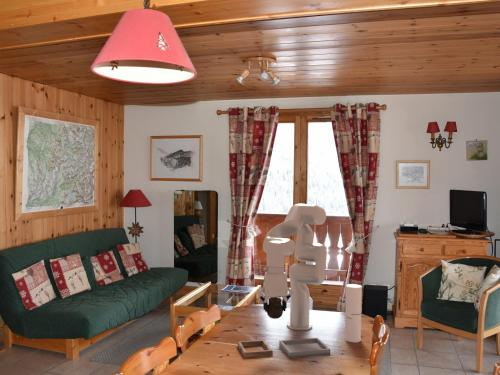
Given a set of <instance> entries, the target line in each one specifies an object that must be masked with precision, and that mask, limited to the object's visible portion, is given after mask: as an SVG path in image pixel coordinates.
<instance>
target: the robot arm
mask: <svg viewBox="0 0 500 375" xmlns="http://www.w3.org/2000/svg"><path fill="white" fill-rule="evenodd" d="M326 220H327V212H326V211H325V209H324V208H323V207H321V206H319V205H316V204H310V203H309V204H307V203H306V204H305V203H296V204H293V205H292V206H291V207H290V208H289V211H288V213H287V215H286V217H285V218H284V221H282V222H281V223H278V224H276V225H275V226H273V227H272V228H270V230H268V232H267V233H266V235H265V237H264V240H263V243H262V250H263V252H264V253H266V265H265V267H263V271H264V272H265V273H264V277H263V283H262V284H263V285H262V287H261V288H260V289H259V290H258V291H256V295H257V297H258V299H260V300H261V301H262V302H263V303H262V304H263V305H262V306H263V307H262V309H263V311H264V312H265V313H267V312H268V304H269V302H268V301H269V298H273V297H278V298H279V297H280V298H281V304H282V307H283V312H287V311H286V309H287V307H288V306H287V304H288V303H287V302H288V301H289V299H290V306H289V309H290V312H289V318H290V319H289V321H288V322H287V324H286V327H287V328H288V329H291V330H292V331H293V330H294V331H309V330H312V329H313V324H312V323H311V322H310V304H311V303H310V299H311V298H310V297H311V296H310V295H311V294H310V289H309V287H308V286H307V285H314V286H315V285H316V286H320V285H322V284H323V282H324V280H325V273H326V266H327V257H328V256H327V255H328V254H327V248H326V247H327V246H325V245H324V244H323V243H314V237H315V234H314V231H313V229H312V228H311V226H310V225H313V226H314V225H316V226H320V225H321V226H322V225H324V223H325V222H326ZM295 235H296V242H294V240H293V239H290V238H288V237H291V236H295ZM293 254H294V257H295V260H297V261H298V262H299V261H300V262H305V263H292V264H291V265H290V266H289V270H288V275H289V276H288V277H289V282H290V287H288V286H289V285H288V277H287V272H285V257H288V256H289V257H290V256H292V255H293ZM306 262H308V263H314V264H308V263H306ZM262 294H263V295H264V296H262Z"/></svg>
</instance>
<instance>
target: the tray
mask: <svg viewBox="0 0 500 375" xmlns="http://www.w3.org/2000/svg"><path fill="white" fill-rule="evenodd" d="M278 343H279V344H278V346H279V348H280V349H281V350H282V351H283V353H285V355H286V356H287V358H289V359H299V358H313V357H321V356H323V357H324V356H331V348H330V347H328V346H327V345H326V344H325V343H324V342H323V340H321V339H320V338H319V337H307V338H295V339H281V340H279V341H278Z"/></svg>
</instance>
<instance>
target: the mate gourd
mask: <svg viewBox="0 0 500 375" xmlns="http://www.w3.org/2000/svg"><path fill="white" fill-rule="evenodd" d="M283 313H284V311H283V307H282V297H273V298H268V312H266V314H267V316H268V317H269V318H270V319H273V320H277V319H280V318H281V317H282V316H283Z"/></svg>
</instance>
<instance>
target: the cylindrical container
mask: <svg viewBox="0 0 500 375" xmlns="http://www.w3.org/2000/svg"><path fill="white" fill-rule="evenodd" d="M362 291H363V285H360V284H355V283H347V284H345V311H344V312H345V315H344V316H345V318H344V319H345V320H344V340H345V341H346V342H349V343H359V342H361V341H362V340H361V337H362V303H363V302H362V300H363V299H362V296H363V295H362V294H363V292H362Z"/></svg>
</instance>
